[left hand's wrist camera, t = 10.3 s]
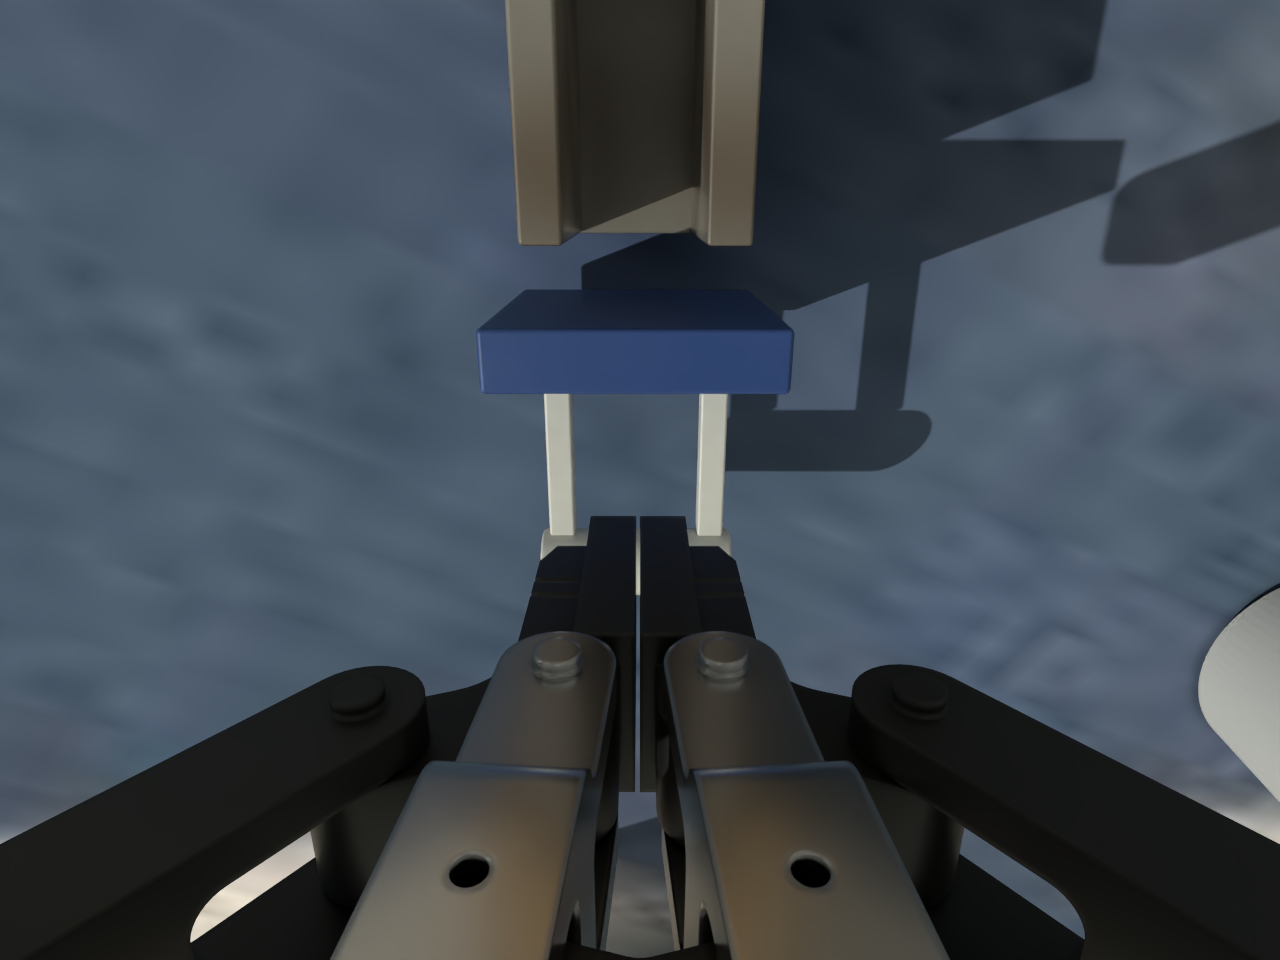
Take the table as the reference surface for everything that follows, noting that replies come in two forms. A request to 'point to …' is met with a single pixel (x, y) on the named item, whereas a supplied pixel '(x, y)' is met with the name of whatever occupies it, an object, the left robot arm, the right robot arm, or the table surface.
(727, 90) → the drawer
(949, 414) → the table surface
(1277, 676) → the coffee cup
